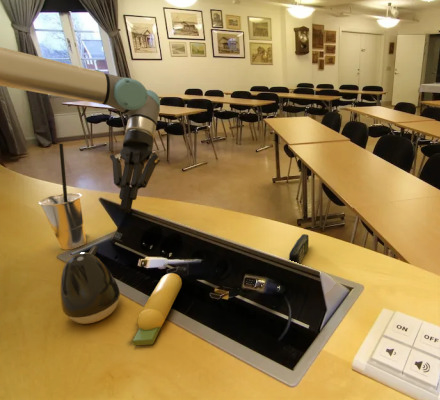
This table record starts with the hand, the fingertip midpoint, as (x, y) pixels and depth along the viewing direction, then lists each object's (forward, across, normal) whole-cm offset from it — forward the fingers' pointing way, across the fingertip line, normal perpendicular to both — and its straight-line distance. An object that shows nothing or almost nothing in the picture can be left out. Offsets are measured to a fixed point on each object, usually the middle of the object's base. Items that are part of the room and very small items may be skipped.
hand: (125, 210), depth 84 cm
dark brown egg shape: (+26, 0, +3) cm, 27 cm away
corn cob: (+27, -14, +4) cm, 31 cm away
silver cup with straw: (+2, +24, -21) cm, 32 cm away
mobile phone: (+12, -46, -11) cm, 49 cm away
